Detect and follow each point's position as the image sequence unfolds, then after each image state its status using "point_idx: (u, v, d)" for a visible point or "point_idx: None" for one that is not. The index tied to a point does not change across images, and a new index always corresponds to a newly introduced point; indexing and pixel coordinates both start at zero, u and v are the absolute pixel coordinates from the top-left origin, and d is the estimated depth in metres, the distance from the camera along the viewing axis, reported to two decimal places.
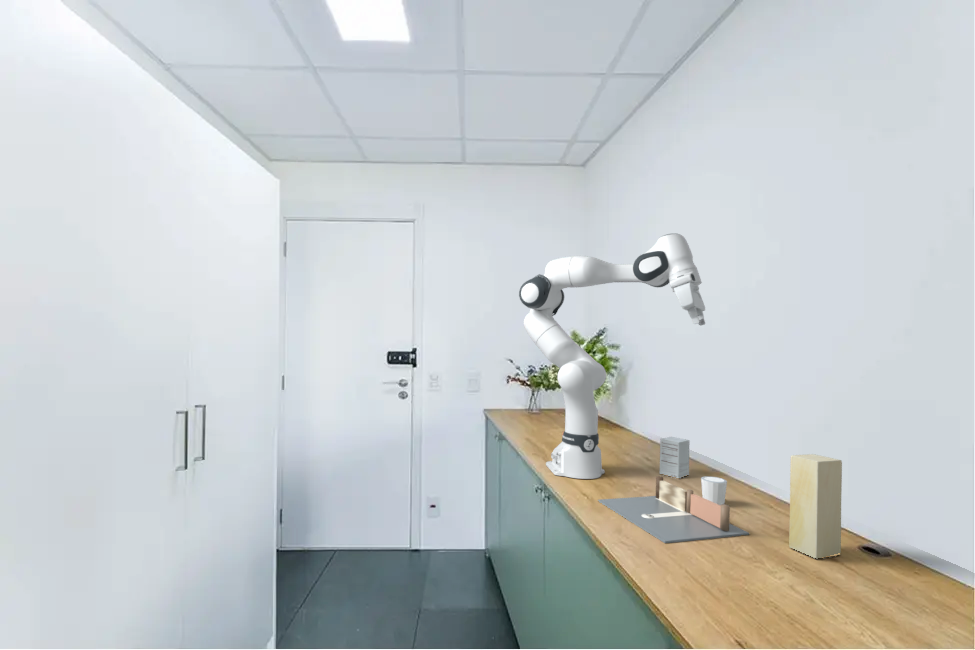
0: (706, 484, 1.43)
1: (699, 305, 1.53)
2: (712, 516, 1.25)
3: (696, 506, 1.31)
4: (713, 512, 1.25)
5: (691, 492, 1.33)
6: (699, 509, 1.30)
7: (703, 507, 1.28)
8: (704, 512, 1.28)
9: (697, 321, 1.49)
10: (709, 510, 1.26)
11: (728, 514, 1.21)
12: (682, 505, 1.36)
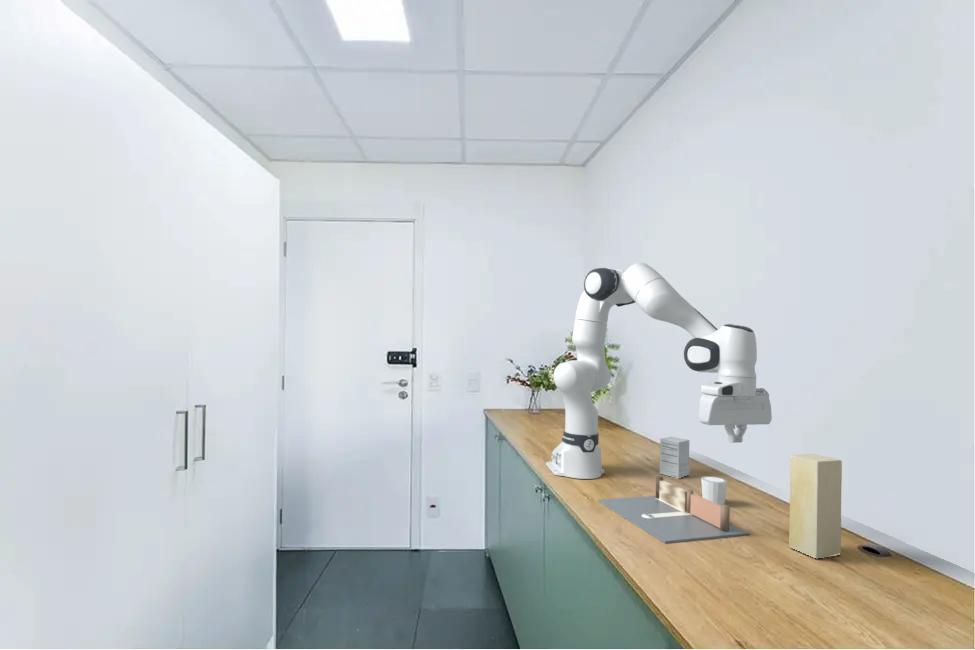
0: (706, 484, 1.43)
1: (737, 422, 1.26)
2: (712, 516, 1.25)
3: (696, 506, 1.31)
4: (713, 512, 1.25)
5: (691, 492, 1.33)
6: (699, 509, 1.30)
7: (703, 507, 1.28)
8: (704, 512, 1.28)
9: (732, 440, 1.27)
10: (709, 510, 1.26)
11: (728, 514, 1.21)
12: (682, 505, 1.36)
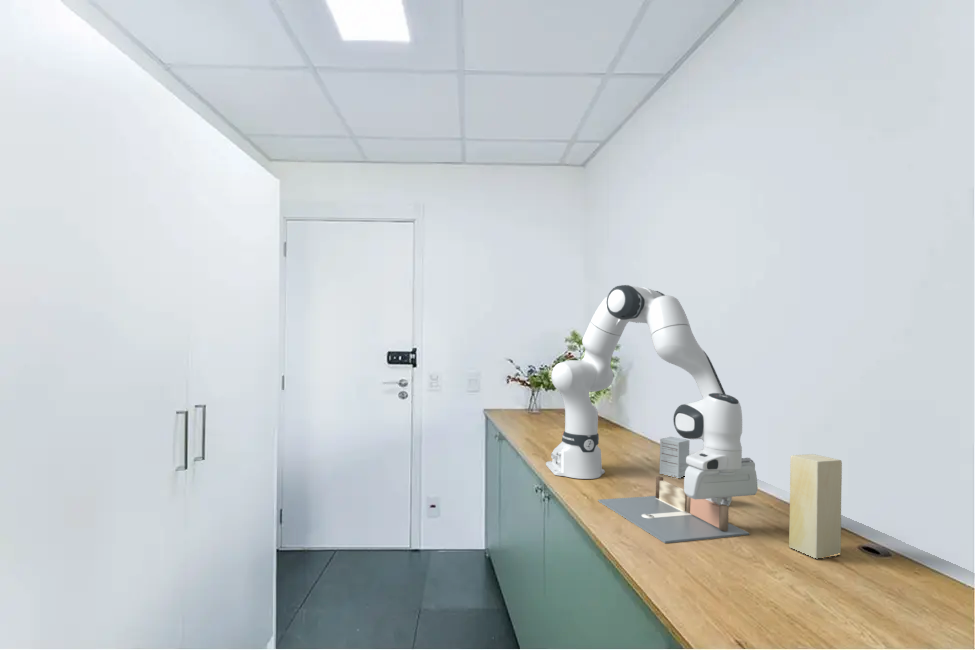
0: None
1: (723, 494, 1.24)
2: (711, 516, 1.25)
3: (696, 506, 1.31)
4: (712, 512, 1.25)
5: None
6: (699, 509, 1.30)
7: (702, 507, 1.28)
8: (703, 512, 1.28)
9: None
10: (708, 510, 1.26)
11: (727, 514, 1.21)
12: (682, 505, 1.36)
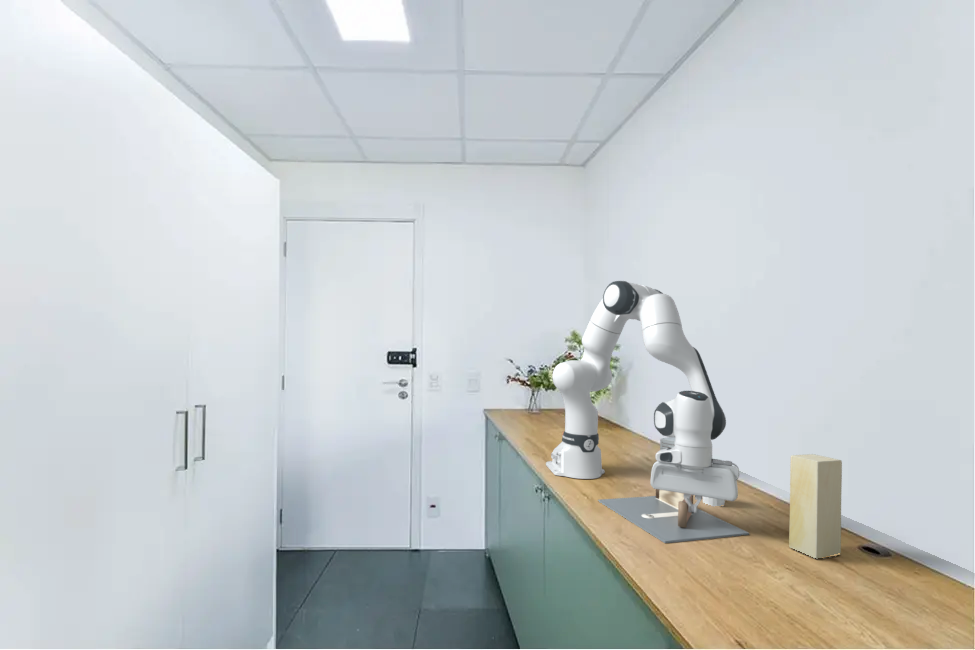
0: None
1: (687, 491, 1.25)
2: None
3: None
4: None
5: None
6: None
7: None
8: None
9: None
10: None
11: (682, 511, 1.22)
12: None
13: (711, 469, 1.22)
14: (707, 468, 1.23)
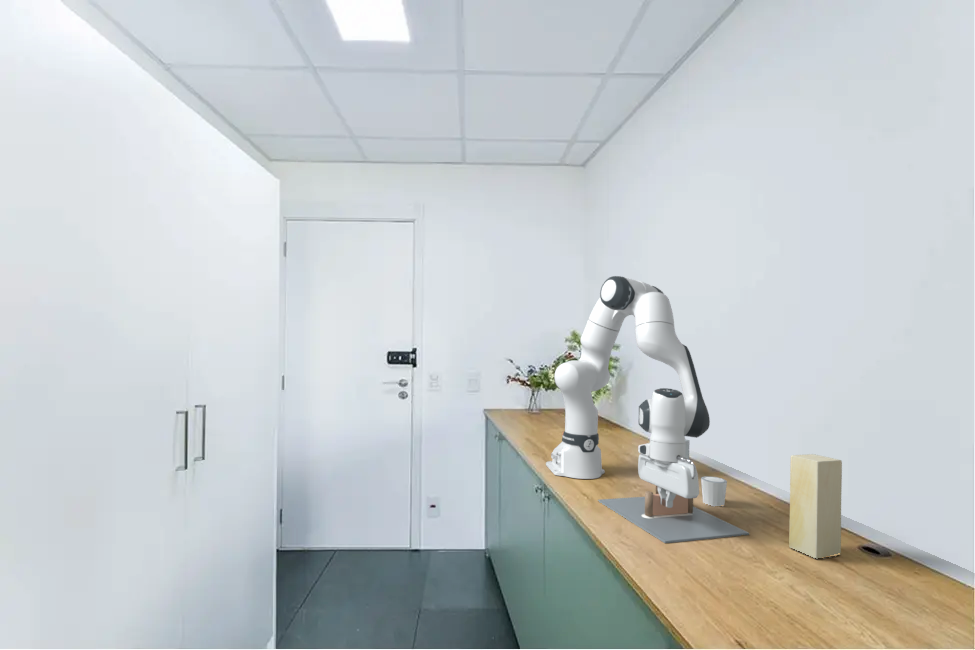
0: (706, 484, 1.43)
1: (658, 484, 1.30)
2: None
3: None
4: None
5: None
6: None
7: None
8: None
9: None
10: None
11: (646, 499, 1.30)
12: None
13: (672, 465, 1.25)
14: (670, 463, 1.26)
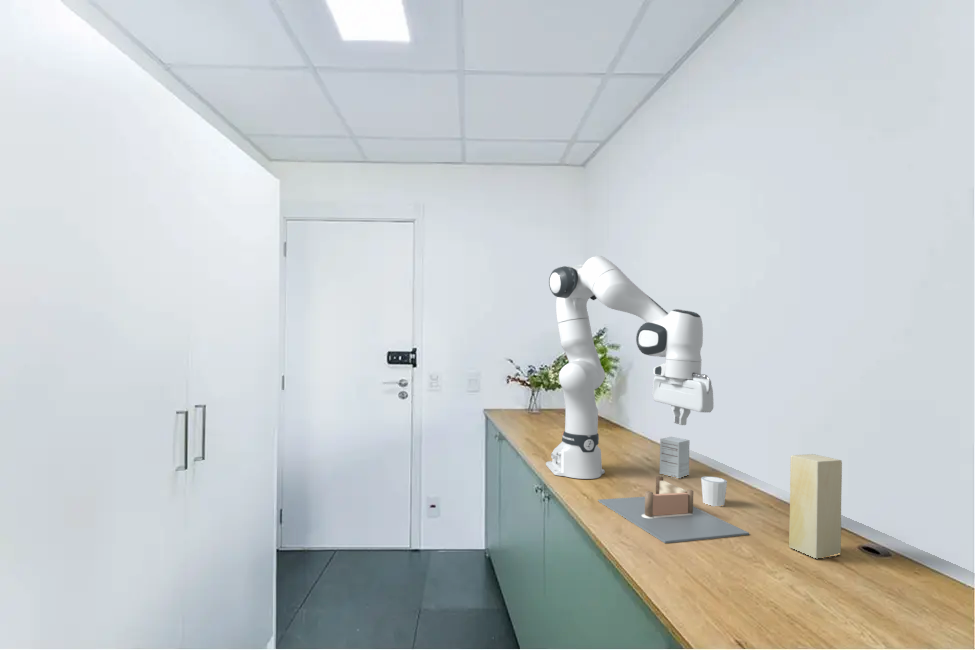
0: (706, 484, 1.43)
1: (672, 402, 1.32)
2: None
3: None
4: None
5: (687, 491, 1.34)
6: None
7: None
8: None
9: None
10: None
11: (646, 499, 1.30)
12: None
13: (688, 381, 1.27)
14: (685, 381, 1.27)
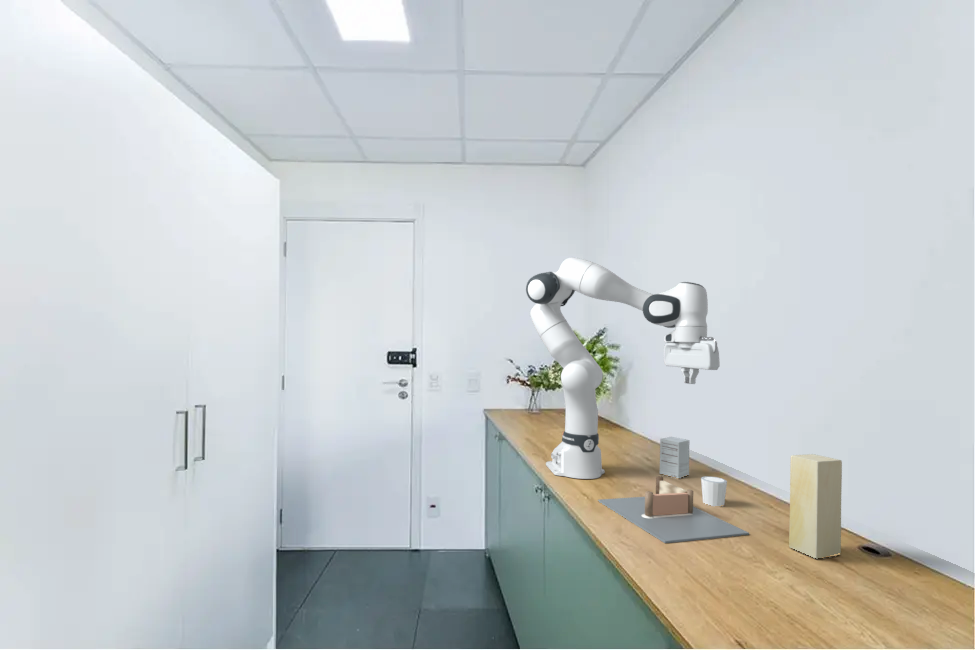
0: (706, 484, 1.43)
1: (682, 365, 1.49)
2: None
3: None
4: None
5: (687, 491, 1.34)
6: None
7: None
8: None
9: None
10: None
11: (646, 499, 1.30)
12: None
13: (696, 344, 1.43)
14: (694, 344, 1.44)
